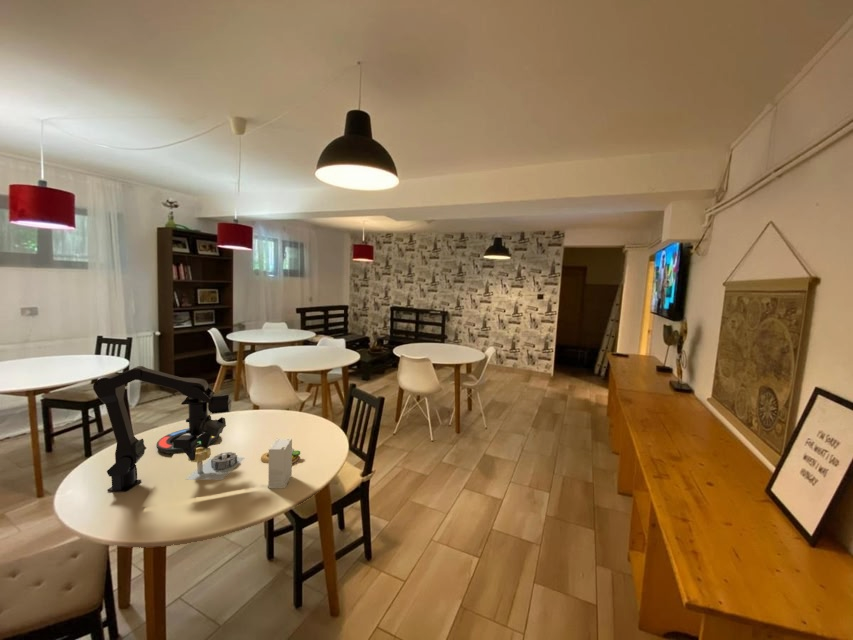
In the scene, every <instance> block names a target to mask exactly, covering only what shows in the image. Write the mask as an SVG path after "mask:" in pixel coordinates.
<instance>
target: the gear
mask: <svg viewBox="0 0 853 640" xmlns="http://www.w3.org/2000/svg"><path fill="white" fill-rule="evenodd" d="M222 454H227V459H224V460H222ZM213 457H214V458H213V459H211V458H210V459H211V467H212V466H213V469H217V470H221V469H227V468H230V467H232V466H234V465H235V463H237V458H238V454H236V452H232V451H229V452H221V453H220V454H217V455H214V456H213Z"/></svg>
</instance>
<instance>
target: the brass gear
mask: <svg viewBox="0 0 853 640" xmlns="http://www.w3.org/2000/svg"><path fill="white" fill-rule="evenodd" d="M211 451H212V450H211V448H210V447H199V448H196V454H195V460H194V461H191V460H190V458H189V457H188V456H187V461H188V462H190V463H197V462H200V461H202V462H203V461H206V460H207V459H210V457H211V455H212V454H211Z"/></svg>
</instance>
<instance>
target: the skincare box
mask: <svg viewBox="0 0 853 640" xmlns="http://www.w3.org/2000/svg"><path fill="white" fill-rule="evenodd" d="M292 448H293V438H276V439H275V440H274V441H273V443H272V444H271V446H270V447H269V449H268V452H269V463H268V480H267V481H268V489H286V487H287V485H288V484H289V481H290V480H291V478H292V475H293V474H292V473H293V470H292V469H293V466H292V465H293V464H292Z"/></svg>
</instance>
